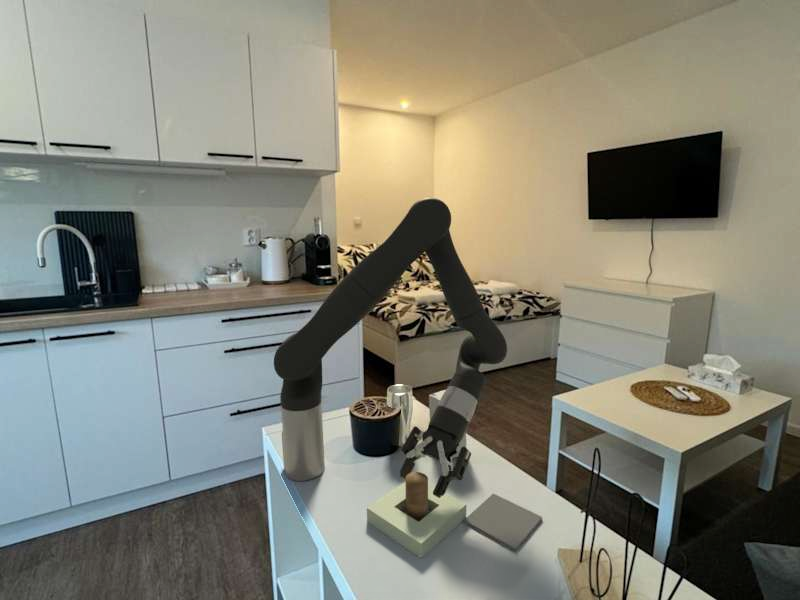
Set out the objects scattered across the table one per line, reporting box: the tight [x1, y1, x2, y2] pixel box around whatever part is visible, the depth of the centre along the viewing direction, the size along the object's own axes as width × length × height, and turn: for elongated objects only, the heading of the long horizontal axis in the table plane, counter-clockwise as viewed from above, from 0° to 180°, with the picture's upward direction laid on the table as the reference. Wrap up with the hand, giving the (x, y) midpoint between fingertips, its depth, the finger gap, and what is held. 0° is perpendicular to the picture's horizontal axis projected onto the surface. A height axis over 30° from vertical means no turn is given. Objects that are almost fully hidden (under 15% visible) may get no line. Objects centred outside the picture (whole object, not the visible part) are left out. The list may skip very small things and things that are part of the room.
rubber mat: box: [463, 493, 543, 552], centre depth 83 cm, size 11×11×1 cm
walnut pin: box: [404, 471, 429, 522], centre depth 83 cm, size 4×4×9 cm
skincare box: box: [428, 389, 467, 460], centre depth 108 cm, size 8×6×15 cm
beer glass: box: [386, 384, 414, 448], centre depth 112 cm, size 7×7×15 cm
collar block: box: [366, 481, 467, 559], centre depth 83 cm, size 14×14×3 cm
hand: (419, 486), depth 83 cm, fingers open, 8 cm apart
